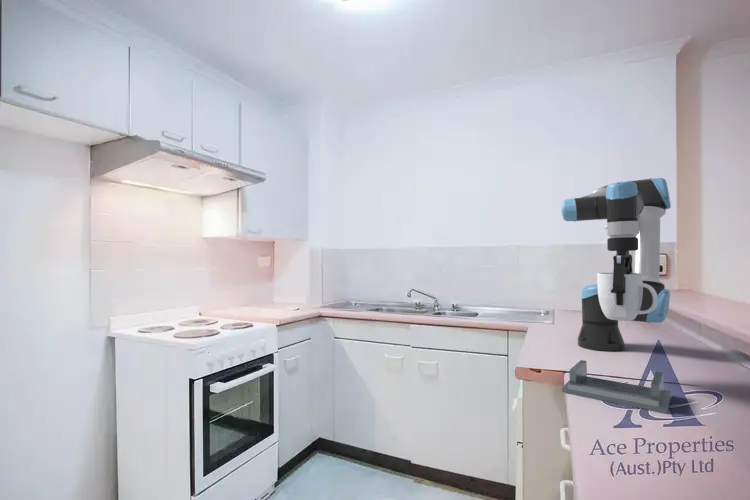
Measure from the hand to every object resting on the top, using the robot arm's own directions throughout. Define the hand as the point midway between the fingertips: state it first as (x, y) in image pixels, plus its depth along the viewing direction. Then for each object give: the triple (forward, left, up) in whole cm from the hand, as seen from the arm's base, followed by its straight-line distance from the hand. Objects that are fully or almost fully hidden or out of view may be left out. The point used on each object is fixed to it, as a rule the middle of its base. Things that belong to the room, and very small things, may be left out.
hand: (624, 314), depth 111 cm
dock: (+15, 0, -18) cm, 24 cm away
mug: (0, 0, -2) cm, 2 cm away
